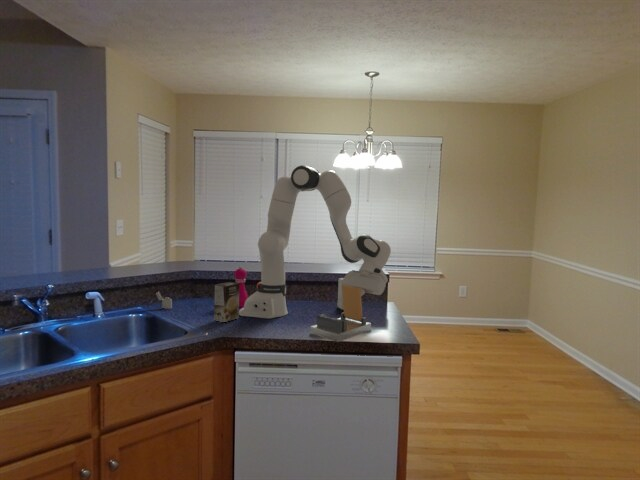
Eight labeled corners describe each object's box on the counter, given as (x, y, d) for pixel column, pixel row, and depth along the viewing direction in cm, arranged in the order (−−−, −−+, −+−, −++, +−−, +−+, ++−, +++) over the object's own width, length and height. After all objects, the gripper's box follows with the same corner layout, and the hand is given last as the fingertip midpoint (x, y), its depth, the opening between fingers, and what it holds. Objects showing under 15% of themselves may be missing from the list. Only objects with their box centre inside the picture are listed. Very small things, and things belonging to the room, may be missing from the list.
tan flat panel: (344, 318, 188) (345, 317, 188) (361, 322, 182) (363, 321, 182) (341, 285, 184) (343, 284, 185) (359, 289, 178) (360, 288, 179)
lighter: (172, 308, 209) (171, 291, 208) (171, 308, 207) (171, 292, 206) (156, 307, 208) (156, 291, 207) (155, 308, 206) (155, 292, 206)
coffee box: (224, 323, 186) (225, 286, 184) (213, 321, 189) (214, 284, 187) (239, 319, 194) (239, 283, 192) (228, 316, 197) (228, 281, 195)
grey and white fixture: (344, 323, 192) (345, 307, 191) (370, 330, 183) (371, 313, 182) (310, 333, 176) (310, 316, 175) (337, 342, 166) (338, 323, 166)
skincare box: (341, 310, 215) (342, 280, 213) (336, 307, 220) (337, 277, 219) (357, 308, 218) (358, 279, 216) (351, 305, 223) (352, 277, 222)
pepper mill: (235, 308, 212) (235, 267, 210) (230, 304, 219) (231, 265, 217) (249, 306, 216) (250, 266, 214) (244, 303, 222) (245, 264, 220)
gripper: (347, 265, 196) (332, 289, 189) (386, 271, 182) (371, 298, 176) (353, 274, 200) (338, 298, 193) (391, 280, 186) (377, 307, 180)
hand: (354, 298), depth 184 cm, fingers closed
